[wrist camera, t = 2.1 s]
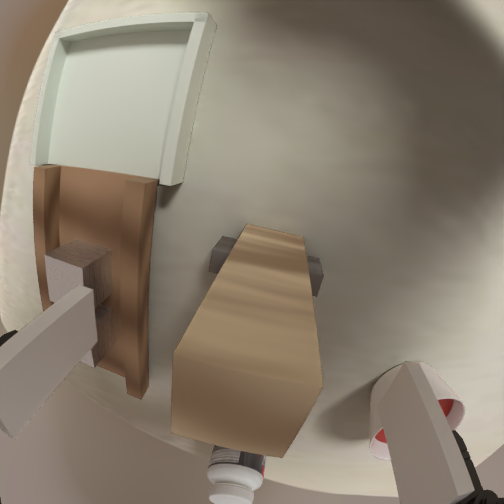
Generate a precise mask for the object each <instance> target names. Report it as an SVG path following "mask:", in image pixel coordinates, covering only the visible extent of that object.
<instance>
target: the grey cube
mask: <svg viewBox="0 0 504 504" xmlns="http://www.w3.org/2000/svg"><path fill="white" fill-rule="evenodd" d="M45 265H46V275H47V283H48V291H49V298H50V301H52V302H54V303H55V302H57V301H58V300H59V299H61V298H62V297H63V296H65V295H66V294H67V293H69V292H70V291H72V290H73V289H74V288H76V287H77V286H78V285H82V286H84V287H87V288H90V289H93V294H94V309H95V308H96V307H97V306H99V305H100V304H101V303H102V302H103V301H104V300H105V299H106V298H107V297H109V296H110V295H111V294H112V249H108V248H104V247H101V246H97V245H94V244H91V243H87V242H84V241H80V240H77V239H74V240H72V241H70V242H68V243H66V244H64V245H62V246H60V247H58V248H56V249H54V250H53V251H51V252H49V253H47V254H45Z"/></svg>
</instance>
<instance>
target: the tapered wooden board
mask: <svg viewBox="0 0 504 504" xmlns="http://www.w3.org/2000/svg"><path fill="white" fill-rule="evenodd" d="M209 272H213V273H217V274H218V275H217V276H216V278H215V280H214V282H213V284H212V285H211V287H210V289H209V291H208V292H207V294H206V296H205V298H204V299H203V301H202V303H201V305H200V306H199V308H198V310H197V312H196V314H195V315H194V317H193V319H192V321H191V322H190V324H189V326H188V328H187V330H186V331H185V333H184V335H183V337H182V339H181V340H180V342H179V344H178V346H177V348H176V349H175V351H174V353H173V370H172V398H171V433H174V434H177V435H181V436H184V437H187V438H191V439H194V440H198V441H201V442H205V443H209V444H213V445H217V446H221V447H225V448H230V449H234V450H239V451H244V452H249V453H255V454H260V455H266V456H273V457H280V458H283V456H284V455H285V453H286V452H287V450H288V448H289V447H290V445H291V444H292V442H293V440H294V439H295V437H296V435H297V434H298V432H299V430H300V428H301V427H302V425H303V423H304V422H305V420H306V418H307V416H308V415H309V413H310V411H311V409H312V407H313V405H314V404H315V402H316V400H317V398H318V396H319V394H320V392H321V391H322V389H323V380H322V370H321V361H320V352H319V343H318V335H317V327H316V319H315V311H314V304H313V296H316V297H317V295H318V292H319V289H320V285H321V282H322V279H323V276H324V275H323V271H322V267H321V263H320V260H319V258H315V257H310V256H306V250H305V244H304V238H303V237H301V236H296V235H292V234H288V233H284V232H280V231H275V230H271V229H267V228H262V227H258V226H253V225H249V224H247V225H246V226H245V228H244V230H243V231H242V233H241V235H240V237H239V238H238V240H237V239H233V238H229V237H224V236H223V237H222V238H221V239H220V240H219V242H218V243H217V244H216V246H215V247H214V248H213V249H212V255H211V261H210V268H209Z"/></svg>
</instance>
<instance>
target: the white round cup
mask: <svg viewBox="0 0 504 504" xmlns="http://www.w3.org/2000/svg"><path fill="white" fill-rule="evenodd" d="M415 362H417V363H419V364H420V366H421V368H422V370H423V372H424V374H425V376H426V378H427V379H428V381H429V383H430V385H431V387H432V389H433V392H434V394H435V396H436V398H437V400H438V402H439V404H440V406H441V408H442V410H443V413H444V415H445V417H446V419H447V421H448V424H449V426H450V428H451V430H456V429H457V427H458V426H459V425H460V423H461V421H462V420H463V417H464V414H465V405H464V403H463V402H462V401H461V399H460V398H459V397H458V396H457V395H456V394H455V392H454V391H453V390H452V389H451V388H450V387H449V386H448V384H447V383H446V382H445V381H444V380H443V379H442V378H441V377H440V375H439V374H438V373H437V372H436V371H435V370H434V369H433V368H432V367H431V366H430V365H428V364H426V363H424V362H418V361H415ZM402 365H403V364H401V365H398V366H396V367H394V368H392V369H391V370H389V371H388V372H386V373H385V374H384V375H383V376H381V377H380V378H379V380H378V381H377V382H376V383H375V385H374V387H373V389H372V392H371V398H370V442H369V448H370V452H371V454H372V455H373V456H375V457H376V458H379V459H382V460H391V458H390V454H389V449H388V445H387V441H386V437H385V433H384V429H383V426H382V422H381V418H380V415H379V411H378V407H377V405H378V404H379V402H380V401H381V399H382V398H383V396H384V394H385V393H386V391H387V390H388V388H389V387H390V385H391V383H392V382H393V380H394V379H395V377H396V375H397V374H398V372H399V370H400V369H401V367H402Z"/></svg>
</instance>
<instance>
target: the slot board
mask: <svg viewBox="0 0 504 504" xmlns="http://www.w3.org/2000/svg"><path fill="white" fill-rule="evenodd" d="M157 185H158V179H154V178H148V177H142V176H136V175H130V174H123V173H117V172H110V171H103V170H96V169H88V168H81V167H73V166H64V165H45V166H39V167H34V181H33V223H34V242H35V255H36V265H37V273H38V281H39V288H40V295H41V301H42V306H43V312H44V311H45V310H46V309H48V308H49V307H50V306H51V305H53V304H54V302H52V301H50V298H49V291H48V283H47V275H46V265H45V254H47V253H49V252H51V251H53V250H54V249H56V248H58V247H60V246H62V245H64V244H66V243H68V242H70V241H72V240H74V239H77V240H80V241H84V242H87V243H91V244H94V245H97V246H101V247H104V248H108V249H112V294H111V295H110V296H109V297H107V298H106V299H105V300H104V301H103V302H102V303H101V304H103V305H106V306H109V307H111V308H113V322H114V335H115V343H114V345H113V346H112V347H111V348H110V350H109V351H108V352H107V353H106V354H105V356H104V357H103V358H102V359H101V360H100V362H99V363H98V364H97V366H100V367H102V368H104V369H106V370H109V371H111V372H114V373H116V374H118V375H121V376H123V377H126V385H127V393H128V394H129V395H131V396H134V397H137V398H139V399H142V397H143V395H144V394H145V392H146V390H147V388H148V387H149V380H148V289H149V269H150V254H151V241H152V229H153V219H154V210H155V201H156V193H157Z"/></svg>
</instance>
